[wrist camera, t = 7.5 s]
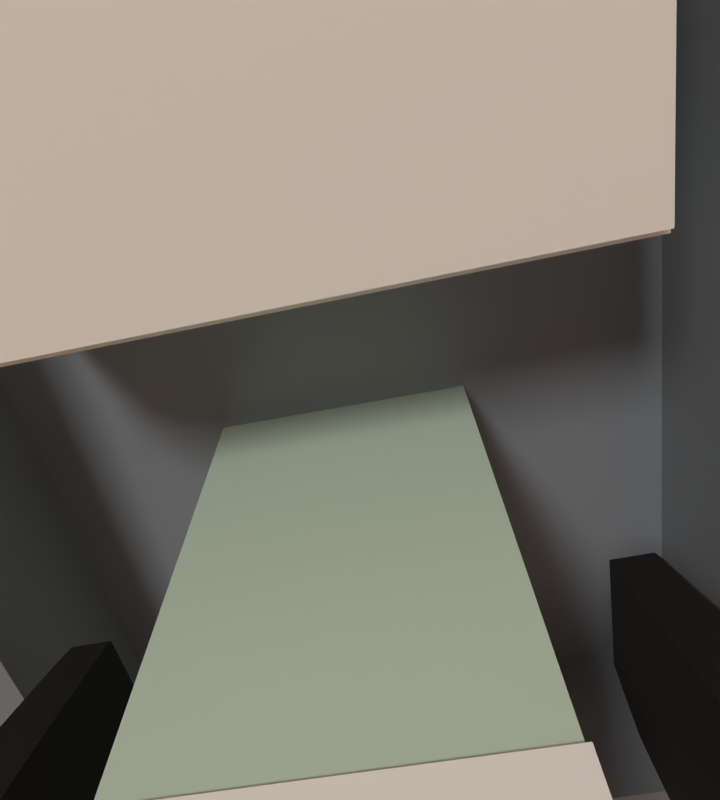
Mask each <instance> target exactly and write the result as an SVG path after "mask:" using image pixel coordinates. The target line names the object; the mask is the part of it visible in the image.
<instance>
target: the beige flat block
mask: <svg viewBox="0 0 720 800" xmlns="http://www.w3.org/2000/svg"><path fill="white" fill-rule="evenodd" d="M676 10H677V0H0V367H4V366H9V365H14V364H19V363H24V362H29V361H34V360H39V359H44V358H49V357H54V356H59V355H64V354H69V353H74V352H79V351H84V350H89V349H94V348H99V347H104V346H109V345H114V344H119V343H124V342H129V341H134V340H139V339H144V338H149V337H154V336H159V335H164V334H169V333H174V332H179V331H184V330H189V329H194V328H199V327H204V326H209V325H214V324H219V323H224V322H229V321H234V320H239V319H244V318H249V317H254V316H259V315H264V314H269V313H274V312H279V311H284V310H289V309H294V308H299V307H304V306H309V305H314V304H319V303H324V302H329V301H334V300H339V299H344V298H349V297H354V296H359V295H364V294H369V293H374V292H379V291H384V290H389V289H394V288H399V287H404V286H409V285H414V284H419V283H424V282H429V281H434V280H439V279H444V278H449V277H454V276H459V275H464V274H469V273H474V272H479V271H484V270H489V269H494V268H499V267H504V266H509V265H514V264H519V263H524V262H529V261H534V260H539V259H544V258H549V257H554V256H559V255H564V254H569V253H574V252H579V251H584V250H589V249H594V248H599V247H604V246H609V245H614V244H619V243H624V242H629V241H634V240H639V239H644V238H649V237H654V236H659V235H664V234H669V233H671V229H673V228H674V226H675V118H676Z"/></svg>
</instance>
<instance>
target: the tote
mask: <svg viewBox="0 0 720 800" xmlns="http://www.w3.org/2000/svg"><path fill="white" fill-rule="evenodd" d="M458 386H464V389H465V392H466V395H467V398H468V401H469V404H470V407H471V410H472V413H473V416H474V418H475V421H476V424H477V427H478V430H479V433H480V436H481V439H482V442H483V445H484V448H485V451H486V454H487V456H488V459H489V462H490V465H491V468H492V471H493V474H494V477H495V480H496V483H497V486H498V489H499V492H500V495H501V497H502V500H503V503H504V506H505V509H506V512H507V515H508V518H509V521H510V524H511V527H512V530H513V533H514V536H515V538H516V541H517V544H518V547H519V550H520V553H521V556H522V559H523V562H524V565H525V568H526V571H527V574H528V577H529V579H530V582H531V585H532V588H533V591H534V594H535V597H536V600H537V603H538V606H539V609H540V612H541V615H542V617H543V620H544V623H545V626H546V629H547V632H548V635H549V638H550V641H551V644H552V647H553V650H554V653H555V656H556V658H557V661H558V664H559V667H560V670H561V673H562V676H563V679H564V682H565V685H566V688H567V691H568V694H569V697H570V699H571V702H572V705H573V708H574V711H575V714H576V717H577V720H578V723H579V726H580V729H581V732H582V735H583V738H584V740H585V743H586V742H593V745H594V748H595V751H596V754H597V756H598V759H599V762H600V765H601V768H602V771H603V773H604V776H605V779H606V782H607V785H608V788H609V791H610V793H611V796H612V799H613V800H670V799H669V797H668V795H667V793H666V791H665V789H664V786H663V784H662V782H661V780H660V778H659V776H658V774H657V772H656V770H655V768H654V766H653V763H652V761H651V759H650V757H649V755H648V753H647V751H646V749H645V747H644V744H643V742H642V740H641V738H640V735H639V733H638V730H637V727H636V725H635V722H634V719H633V716H632V714H631V711H630V708H629V706H628V703H627V700H626V697H625V694H624V691H623V689H622V686H621V683H620V680H619V677H618V674H617V671H616V669H615V666H614V654H613V631H612V609H611V587H610V564H609V560H612V559H618V558H624V557H630V556H636V555H642V554H649V553H656V554H657V555H659V556H660V557H662V558H663V559H664V560H665V561H666V562H668V563H669V564H670V565H671V566H672V567H673V568H674V569H675V570H676V571H677V572H679V573H680V574H681V575H682V576H683V577H684V578H685V579H686V580H687V581H689V582H690V583H691V584H692V585H693V586H694V587H695V588H696V589H698V590H699V591H700V592H701V593H702V594H703V595H704V596H706V597H707V598H708V599H709V600H710V601H711V602H712V603H714V604H715V605H716V606H717V607H718V608H719V609H720V0H677V10H676V118H675V226H674V228H673V229H671V233H669V234H664V235H659V236H654V237H649V238H644V239H639V240H634V241H629V242H624V243H619V244H614V245H609V246H604V247H599V248H594V249H589V250H584V251H579V252H574V253H569V254H564V255H559V256H554V257H549V258H544V259H539V260H534V261H529V262H524V263H519V264H514V265H509V266H504V267H499V268H494V269H489V270H484V271H479V272H474V273H469V274H464V275H459V276H454V277H449V278H444V279H439V280H434V281H429V282H424V283H419V284H414V285H409V286H404V287H399V288H394V289H389V290H384V291H379V292H374V293H369V294H364V295H359V296H354V297H349V298H344V299H339V300H334V301H329V302H324V303H319V304H314V305H309V306H304V307H299V308H294V309H289V310H284V311H279V312H274V313H269V314H264V315H259V316H254V317H249V318H244V319H239V320H234V321H229V322H224V323H219V324H214V325H209V326H204V327H199V328H194V329H189V330H184V331H179V332H174V333H169V334H164V335H159V336H154V337H149V338H144V339H139V340H134V341H129V342H124V343H119V344H114V345H109V346H104V347H99V348H94V349H89V350H84V351H79V352H74V353H69V354H64V355H59V356H54V357H49V358H44V359H39V360H34V361H29V362H24V363H19V364H14V365H9V366H4V367H0V726H1V725H2V724H3V723H4V722H5V721H6V720H7V718H8V717H9V716H10V715H11V714H12V713H13V712H14V710H15V709H16V708H17V707H18V706H19V705H20V704H21V703H22V701H23V700H24V699H25V698H26V697H27V696H28V695H29V693H30V692H31V691H32V690H33V689H34V688H35V687H36V685H37V684H38V683H39V682H40V681H41V680H42V679H43V678H44V677H45V675H46V674H47V673H48V672H49V671H50V670H51V669H52V668H53V667H54V665H55V664H56V663H57V662H58V661H59V660H60V659H61V658H62V657H63V656H64V655H65V654H66V653H67V652H68V651H69V650H70V649H71V647H76V646H82V645H88V644H94V643H100V642H106V641H111V642H112V644H113V646H114V647H115V649H116V651H117V653H118V655H119V657H120V659H121V661H122V663H123V665H124V667H125V669H126V671H127V673H128V675H129V677H130V679H131V681H132V682H133V684H134V683H135V681H136V678H137V675H138V672H139V669H140V666H141V663H142V660H143V658H144V655H145V652H146V649H147V646H148V643H149V640H150V638H151V635H152V632H153V629H154V626H155V623H156V620H157V617H158V615H159V612H160V609H161V606H162V603H163V600H164V597H165V594H166V592H167V589H168V586H169V583H170V580H171V577H172V574H173V572H174V569H175V566H176V563H177V560H178V557H179V554H180V551H181V549H182V546H183V543H184V540H185V537H186V534H187V531H188V528H189V526H190V523H191V520H192V517H193V514H194V511H195V508H196V506H197V503H198V500H199V497H200V494H201V491H202V488H203V485H204V483H205V480H206V477H207V474H208V471H209V468H210V465H211V462H212V460H213V457H214V454H215V451H216V448H217V445H218V442H219V439H220V437H221V434H222V431H223V428H225V427H230V426H236V425H242V424H248V423H253V422H259V421H265V420H270V419H276V418H282V417H287V416H293V415H299V414H305V413H310V412H316V411H322V410H327V409H333V408H339V407H344V406H350V405H356V404H362V403H367V402H373V401H379V400H384V399H390V398H396V397H401V396H407V395H413V394H419V393H424V392H430V391H436V390H441V389H447V388H453V387H458Z"/></svg>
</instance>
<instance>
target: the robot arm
mask: <svg viewBox="0 0 720 800" xmlns="http://www.w3.org/2000/svg"><path fill="white" fill-rule="evenodd" d="M609 564H610V587H611V609H612V631H613V654H614V666H615V669H616V671H617V674H618V677H619V680H620V683H621V686H622V689H623V691H624V694H625V697H626V700H627V703H628V706H629V708H630V711H631V714H632V716H633V719H634V722H635V725H636V727H637V730H638V733H639V735H640V738H641V740H642V742H643V744H644V747H645V749H646V751H647V753H648V755H649V757H650V759H651V761H652V763H653V766H654V768H655V770H656V772H657V774H658V776H659V778H660V780H661V782H662V784H663V786H664V789H665V791H666V793H667V795H668V797H669V799H670V800H720V609H719V608H718V607H717V606H716V605H715V604H714V603H712V602H711V601H710V600H709V599H708V598H707V597H706V596H704V595H703V594H702V593H701V592H700V591H699V590H698V589H696V588H695V587H694V586H693V585H692V584H691V583H690V582H689V581H687V580H686V579H685V578H684V577H683V576H682V575H681V574H680V573H679V572H677V571H676V570H675V569H674V568H673V567H672V566H671V565H670V564H669V563H668V562H666V561H665V560H664V559H663V558H662V557H660V556H659V555H657V554H656V553H649V554H642V555H636V556H630V557H624V558H618V559H612V560H609ZM133 686H134V684H133V682H132V681H131V679H130V677H129V675H128V673H127V671H126V669H125V667H124V665H123V663H122V661H121V659H120V657H119V655H118V653H117V651H116V649H115V647H114V646H113V644H112V642H111V641H106V642H100V643H94V644H88V645H82V646H76V647H71V649H70V650H69V651H68V652H67V653H66V654H65V655H64V656H63V657H62V658H61V659H60V660H59V661H58V662H57V663H56V664H55V665H54V667H53V668H52V669H51V670H50V671H49V672H48V673H47V674H46V675H45V677H44V678H43V679H42V680H41V681H40V682H39V683H38V684H37V685H36V687H35V688H34V689H33V690H32V691H31V692H30V693H29V695H28V696H27V697H26V698H25V699H24V700H23V701H22V703H21V704H20V705H19V706H18V707H17V708H16V709H15V710H14V712H13V713H12V714H11V715H10V716H9V717H8V718H7V720H6V721H5V722H4V723H3V724H2V725H1V726H0V800H94V798H95V795H96V793H97V790H98V787H99V784H100V781H101V778H102V775H103V772H104V770H105V767H106V764H107V761H108V758H109V755H110V752H111V749H112V747H113V744H114V741H115V738H116V735H117V732H118V729H119V727H120V724H121V721H122V718H123V715H124V712H125V709H126V706H127V704H128V701H129V698H130V695H131V692H132V689H133Z"/></svg>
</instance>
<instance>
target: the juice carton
mask: <svg viewBox="0 0 720 800" xmlns="http://www.w3.org/2000/svg"><path fill="white" fill-rule="evenodd" d="M94 800H613V799H612V796H611V793H610V791H609V788H608V785H607V782H606V779H605V776H604V773H603V771H602V768H601V765H600V762H599V759H598V756H597V754H596V751H595V748H594V745H593V742H586V743H585V740H584V738H583V735H582V732H581V729H580V726H579V723H578V720H577V717H576V714H575V711H574V708H573V705H572V702H571V699H570V697H569V694H568V691H567V688H566V685H565V682H564V679H563V676H562V673H561V670H560V667H559V664H558V661H557V658H556V656H555V653H554V650H553V647H552V644H551V641H550V638H549V635H548V632H547V629H546V626H545V623H544V620H543V617H542V615H541V612H540V609H539V606H538V603H537V600H536V597H535V594H534V591H533V588H532V585H531V582H530V579H529V577H528V574H527V571H526V568H525V565H524V562H523V559H522V556H521V553H520V550H519V547H518V544H517V541H516V538H515V536H514V533H513V530H512V527H511V524H510V521H509V518H508V515H507V512H506V509H505V506H504V503H503V500H502V497H501V495H500V492H499V489H498V486H497V483H496V480H495V477H494V474H493V471H492V468H491V465H490V462H489V459H488V456H487V454H486V451H485V448H484V445H483V442H482V439H481V436H480V433H479V430H478V427H477V424H476V421H475V418H474V416H473V413H472V410H471V407H470V404H469V401H468V398H467V395H466V392H465V389H464V386H458V387H453V388H447V389H441V390H436V391H430V392H424V393H419V394H413V395H407V396H401V397H396V398H390V399H384V400H379V401H373V402H367V403H362V404H356V405H350V406H344V407H339V408H333V409H327V410H322V411H316V412H310V413H305V414H299V415H293V416H287V417H282V418H276V419H270V420H265V421H259V422H253V423H248V424H242V425H236V426H230V427H225V428H223V431H222V434H221V437H220V439H219V442H218V445H217V448H216V451H215V454H214V457H213V460H212V462H211V465H210V468H209V471H208V474H207V477H206V480H205V483H204V485H203V488H202V491H201V494H200V497H199V500H198V503H197V506H196V508H195V511H194V514H193V517H192V520H191V523H190V526H189V528H188V531H187V534H186V537H185V540H184V543H183V546H182V549H181V551H180V554H179V557H178V560H177V563H176V566H175V569H174V572H173V574H172V577H171V580H170V583H169V586H168V589H167V592H166V594H165V597H164V600H163V603H162V606H161V609H160V612H159V615H158V617H157V620H156V623H155V626H154V629H153V632H152V635H151V638H150V640H149V643H148V646H147V649H146V652H145V655H144V658H143V660H142V663H141V666H140V669H139V672H138V675H137V678H136V681H135V683H134V686H133V689H132V692H131V695H130V698H129V701H128V704H127V706H126V709H125V712H124V715H123V718H122V721H121V724H120V727H119V729H118V732H117V735H116V738H115V741H114V744H113V747H112V749H111V752H110V755H109V758H108V761H107V764H106V767H105V770H104V772H103V775H102V778H101V781H100V784H99V787H98V790H97V793H96V795H95V798H94Z"/></svg>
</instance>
